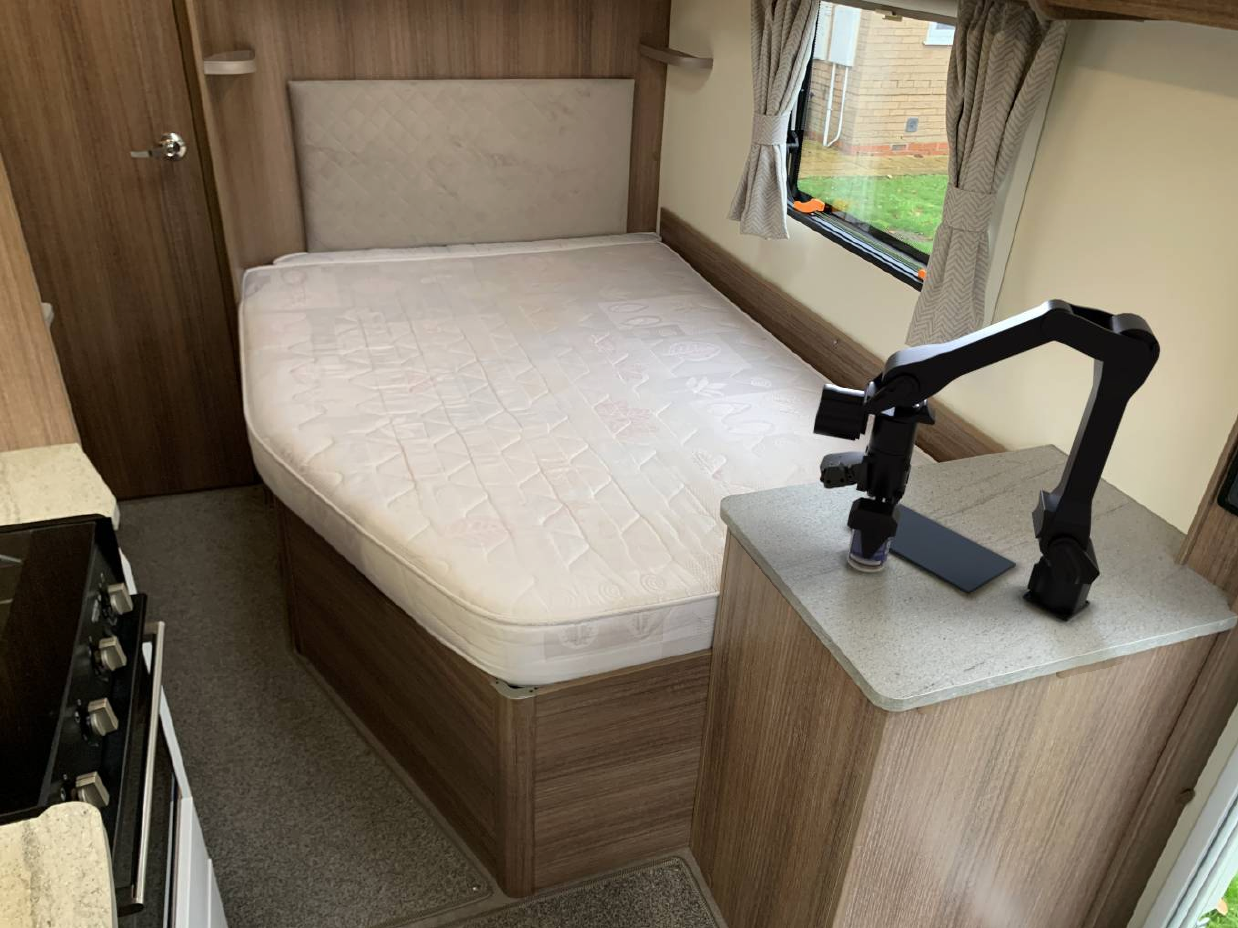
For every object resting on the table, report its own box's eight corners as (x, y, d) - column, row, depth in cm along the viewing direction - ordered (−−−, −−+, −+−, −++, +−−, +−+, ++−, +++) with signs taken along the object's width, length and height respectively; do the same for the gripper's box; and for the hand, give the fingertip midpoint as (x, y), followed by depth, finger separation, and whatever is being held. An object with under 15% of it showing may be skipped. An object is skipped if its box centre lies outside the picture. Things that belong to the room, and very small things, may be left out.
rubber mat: (1015, 566, 136) (1016, 563, 136) (968, 594, 129) (968, 591, 129) (899, 506, 149) (900, 503, 149) (851, 529, 142) (851, 526, 142)
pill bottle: (889, 574, 132) (903, 514, 127) (850, 572, 132) (863, 512, 127) (880, 553, 137) (893, 494, 132) (843, 551, 137) (854, 492, 132)
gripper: (841, 407, 136) (824, 501, 143) (817, 462, 120) (799, 565, 128) (921, 423, 133) (899, 518, 140) (907, 482, 117) (883, 585, 124)
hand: (869, 544), depth 133 cm, fingers open, 7 cm apart
